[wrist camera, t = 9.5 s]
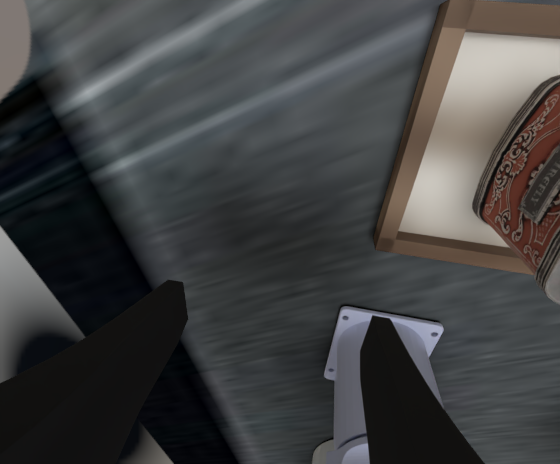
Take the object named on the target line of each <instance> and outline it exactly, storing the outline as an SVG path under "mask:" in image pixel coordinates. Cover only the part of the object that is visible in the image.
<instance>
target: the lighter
mask: <svg viewBox="0 0 560 464" xmlns="http://www.w3.org/2000/svg"><path fill="white" fill-rule="evenodd" d="M472 209H473V211H474V214H475V215H476V216H477V217H478V218H479V219H480V220H481V221H482V222H483V223H484V224H486V225H489V226H491V227H492V228H493V229H494V230H495V232H496V233H497V234H498V235H499V236H500V237H501V238H502V239H503V240H504V241H505V243H506V244H507V245H508V246H509V247H510V248H511V249H512V250H513V251H514V252H515V254H516V255H517V256H518V257H519V258H520V259H521V260H522V261H523V262H524V263H525V264H526V266H527V267H528V268H529V269H530V270H531V271H532V272H533V273H534V274H535V280H536V283H537V285H538V286H539V287H540V288H541V289H542V291H543V292H544V293H545V294H546V295H547V296H548V297H549V298H550V299H551V300H553V301H554V302H555V303H557V304H560V75H557V76H553V77H550V78H549V79H547V80H545V81H544V82H542V83H540V84H539V85H538V86H537V87H536V88H535V89H534V90H533V92H532V93H531V94H530V96H529V97H528V98H527V100H526V101H525V102H524V104H523V105H522V106H521V108H520V109H519V110H518V112H517V113H516V114H515V116H514V117H513V118H512V120H511V121H510V123H509V124H508V126H507V127H506V129H505V131H504V132H503V134H502V136H501V137H500V139H499V141H498V142H497V144H496V145H495V147H494V149H493V150H492V152H491V155H490V157H489V159H488V161H487V164H486V166H485V168H484V170H483V172H482V175H481V177H480V179H479V183H478V186H477V189H476V192H475V196H474V199H473V202H472Z"/></svg>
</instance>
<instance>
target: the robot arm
mask: <svg viewBox="0 0 560 464" xmlns="http://www.w3.org/2000/svg"><path fill="white" fill-rule="evenodd" d="M344 316H347V317H344ZM187 320H188V315H187V308H186V301H185V293H184V286H183V282H178V281H172V280H167V281H166V282H164V283H163V284H162V285H160V286H159V287H157V288H156V289H155V290H153V291H152V292H151V293H149V294H148V295H147V296H145V297H144V298H143V299H141V300H140V301H138V302H137V303H136V304H134V305H133V306H132V307H130V308H129V309H127V310H126V311H125V312H123V313H122V314H120V315H119V316H118V317H116V318H115V319H113V320H112V321H110V322H109V323H107V324H106V325H104V326H103V327H101V328H100V329H98V330H97V331H95V332H94V333H92V334H91V335H89V336H88V337H86V338H84V339H83V340H81V341H79V342H78V343H76V344H74V345H73V346H71V347H69V348H67V349H66V350H64V351H62V352H60V353H59V354H57V355H55V356H53V357H52V358H50V359H48V360H46V361H44V362H42V363H40V364H38V365H36V366H34V367H32V368H30V369H28V370H26V371H24V372H22V373H20V374H19V375H17V376H15V377H13V378H11V379H9V380H6V381H4V382H2V383H0V464H116V462H117V459H118V457H119V455H120V452H121V450H122V448H123V446H124V443H125V441H126V439H127V437H128V434H129V433H130V430H131V428H132V426H133V424H134V422H135V420H136V417H137V415H138V413H139V411H140V409H141V407H142V405H143V404H144V402H145V400H146V398H147V396H148V394H149V393H150V391H151V389H152V388H153V386H154V384H155V382H156V381H157V379H158V377H159V375H160V374H161V372H162V370H163V368H164V367H165V365H166V363H167V361H168V360H169V358H170V356H171V354H172V353H173V351H174V349H175V347H176V345H177V344H178V341H179V339H180V337H181V335H182V332H183V330H184V327H185V325H186V323H187ZM443 330H444V329H443V326H442V324H440V323H438V322H432V321H427V320H421V319H416V318H410V317H404V316H399V315H393V314H388V313H382V312H377V311H371V310H365V309H360V308H354V307H349V306H344V307H342V308H341V309H340V313H339V317H338V321H337V325H336V328H335V332H334V336H333V340H332V344H331V348H330V352H329V356H328V360H327V363H326V367H325V371H324V377H325V378H326V379H329V380H334V449H335V450H334V451H328V452H326V464H485V463H484V462H483V461H482V460H481V458H480V457H479V456H478V455H477V453H476V452H475V451H474V450H473V448H472V447H471V446H470V444H469V443H468V442H467V440H466V439H465V438H464V436H463V435H462V434H461V432H460V431H459V430H458V428H457V427H456V426H455V424H454V423H453V421H452V420H451V419H450V417H449V416H448V414H447V413H446V411H445V410H444V407H443V404H442V401H441V397H440V394H439V391H438V387H437V384H436V381H435V377H434V374H433V371H432V368H431V364H430V361H429V356H430V355H431V353H432V351H433V349H434V347H435V345H436V344H437V342H438V340H439V338H440V336H441V334H442V332H443ZM433 332H435V333H433Z"/></svg>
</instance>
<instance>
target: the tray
mask: <svg viewBox="0 0 560 464" xmlns="http://www.w3.org/2000/svg"><path fill="white" fill-rule="evenodd" d="M557 75H560V6H558V5H543V4H527V3H512V2H497V1H481V0H447V1H445V2H444V3H442V4H440V8H439V11H438V15H437V18H436V21H435V25H434V28H433V32H432V35H431V39H430V42H429V46H428V49H427V53H426V56H425V60H424V63H423V67H422V70H421V74H420V77H419V81H418V84H417V87H416V91H415V94H414V98H413V101H412V105H411V108H410V112H409V115H408V119H407V122H406V126H405V129H404V133H403V136H402V140H401V143H400V147H399V150H398V153H397V157H396V160H395V164H394V167H393V171H392V174H391V178H390V181H389V185H388V188H387V192H386V195H385V199H384V202H383V206H382V209H381V213H380V216H379V219H378V223H377V226H376V230H375V233H374V237H373V240H374V245H375V250H379V251H386V252H392V253H398V254H405V255H411V256H417V257H424V258H430V259H436V260H443V261H449V262H455V263H462V264H468V265H474V266H481V267H487V268H493V269H500V270H506V271H512V272H519V273H525V274H531V275H535V274H534V273H533V272H532V271H531V270H530V269H529V268H528V267H527V266H526V264H525V263H524V262H523V261H522V260H521V259H520V258H519V257H518V256H517V255H516V254H515V252H514V251H513V250H512V249H511V248H510V247H509V246H508V245H507V244H506V243H505V241H504V240H503V239H502V238H501V237H500V236H499V235H498V234H497V233H496V232H495V230H494V229H493V228H492V227H491V226H489V225H486V224H484V223H483V222H482V221H481V220H480V219H479V218H478V217H477V216H476V215H475V214H474V211H473V209H472V202H473V199H474V196H475V192H476V189H477V186H478V183H479V179H480V177H481V175H482V172H483V170H484V168H485V166H486V164H487V161H488V159H489V157H490V155H491V152H492V150H493V149H494V147H495V145H496V144H497V142H498V141H499V139H500V137H501V136H502V134H503V132H504V131H505V129H506V127H507V126H508V124H509V123H510V121H511V120H512V118H513V117H514V116H515V114H516V113H517V112H518V110H519V109H520V108H521V106H522V105H523V104H524V102H525V101H526V100H527V98H528V97H529V96H530V94H531V93H532V92H533V90H534V89H535V88H536V87H537V86H538V85H539V84H540V83H542V82H544V81H545V80H547V79H549V78H550V77H553V76H557Z"/></svg>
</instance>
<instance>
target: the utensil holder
mask: <svg viewBox="0 0 560 464" xmlns="http://www.w3.org/2000/svg"><path fill="white" fill-rule="evenodd" d="M334 450H335V449H334V439H333V440H329V441H327V442H324V443H322V444H321V445H319V446H318V447H317V448H316V449H315V451H314V453H313V459H312V464H326V452H328V451H334Z"/></svg>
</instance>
